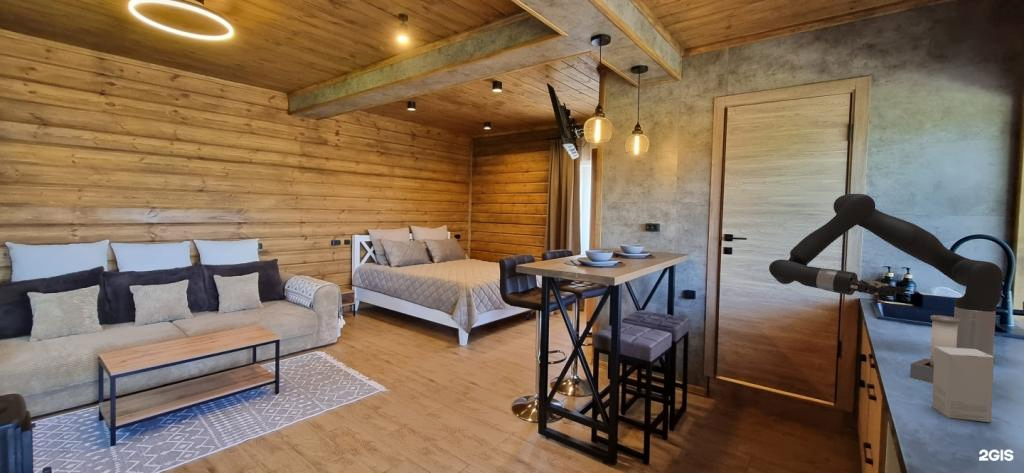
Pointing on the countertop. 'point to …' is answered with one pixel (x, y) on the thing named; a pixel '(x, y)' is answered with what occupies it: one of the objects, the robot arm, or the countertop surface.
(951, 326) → the plug
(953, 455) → the countertop surface
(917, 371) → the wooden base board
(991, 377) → the skincare box
